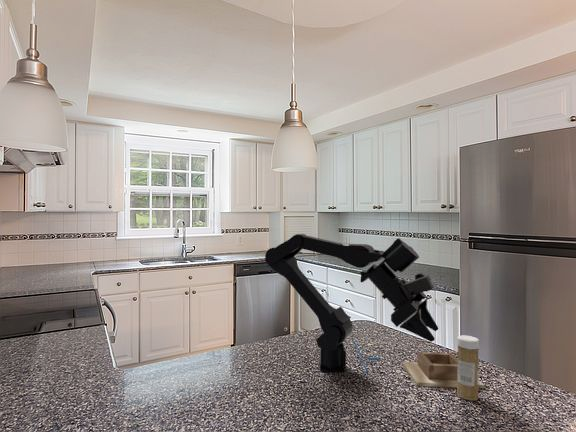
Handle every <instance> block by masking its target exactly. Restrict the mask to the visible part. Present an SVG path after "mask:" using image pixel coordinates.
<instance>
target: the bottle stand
mask: <svg viewBox="0 0 576 432" xmlns="http://www.w3.org/2000/svg"><path fill="white" fill-rule="evenodd" d="M402 366H403V367H404V369H405V371H406V372H407V373H408V375H409V377H410V378H411V379H412V381H413V382H414V383H415V385H416V386H417V387H435V388H436V387H437V388H438V387H439V388H440V387H441V388H458V380H457V367H458V357H456V356H455V355H454V354H453V353H451V352H427V351H426V352H423V351H418V352H417V362H415V361H402ZM478 389H485V384H484V383H483V382H482V381H481V380H479V384H478Z"/></svg>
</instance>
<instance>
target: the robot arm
mask: <svg viewBox="0 0 576 432" xmlns="http://www.w3.org/2000/svg"><path fill="white" fill-rule="evenodd" d="M373 247H374V246H372V245H370V244H368V243H366V244H364V243H342V242H337V241H333V240H328V239H324V238H319V237H315V236H309V235H306V234H304V233H297V234H294V235H292V236H291V237H290V238H289V239H287V240H286V241H283V242H282V243H280V244H279V245H277V246H275V247H271V248H269V249H267V251H266V253H265V254H264V257H265V258H264V261H265V262H264V263H266V265H267V266H268V267H269V268H270V269H272V270H273V272H275V273H277V274H279V275H280V276H282V277H284V278H285V279H286V280H287V281H288V282H289V284H290V285H291V287H292V288H293V289H294V290H295V291H296V293H297V294H298V295H299V297H301V298H302V300H303V301H304V302H305V304H306V305H307V306H308V307H309V308H310V310H312V312H313V313H314V314H315V316H317V319H318V323H319V326H320V328H321V331H322V332H323V333H322V334H320V335H319V337H317V338H316V339H315V340H316V344H317V347H318V348H319V360H318V364H319V371H320V372H337V373H341V372H342V373H343V372H344V373H345V372H346V371H345V368H346V367H347V351H346V349H345V346H344V343H345V342H346V339H347V338H348V337H349V336H350V335H351V334H352V333H353V329H354V328H353V322H352V320H351V318H352V317H351V316H349V315H348V314H347V313H346V311H345V310H344V308H343V307H342V306H339V307H337V308H335V307H333V306H331V304H329V302H328V301H327V300H326V299H325V297H324V296H323V295H322V294H321V293H320V292H319V290H317V288H316V287H315V285H313V284H312V282H311V281H310V280H309V279H308V277H307V276H306V275H305V274H304V273H303V272H302V270H301V269H300V268H299V266H298V262H297V259H296V257H295V256H296V255H298V254H299V253H300V252H302V250H305V251H309V252H314V253H317V254H322V255H326V256H330V257H334V258H337V259H339V260H341V261H343V262H344V263H346V264H349V265H351V266H353V267H355V268H358V269H359V268H360V269H362V268H365V267H368V266H370V265H371V266H370V267H369V268H368V269H367V270H362V271H360V281H359V282H360V283H364V282H366V281H367V280H369V281H370V282H371V283H372V284H373V285H374V287H376V289H377V290H378V291H379V292H380V293H381V294H382V295H381V298H382V299H383V300H385V299H386V300H387V301H388V302H389V303H390V305H391V306H392V307H393V312H392V313H391V314H390V321H391V323H393V324H394V326H395V327H396V328H398V327H399V328H400V329H404V330H406V331H408V332H410V333H412V334H415V335H416V336H419V337H421V338H423V339H424V340H426V341H428V342H430V343H432V342H433V341H435V340H436V339H435V337H434V335H433V334H432V331H434V332H437V331H438V330H439V326H438V324H437V323H436V322H435V320H434V318H433V316H432V314H431V313H430V310H429V309H428V298H427V295H426V294H425V293H424V292H429V291H431V290H433V289H434V288H435V287H434V284H433V282H432V279H431V277H430V276H429V275H428V274H426V275H425V274H424V273H423V272H420V273H416V274H415V276H414V279H412V280H410V281H408V282H407V281H406V280H405V279H404V278H403V279H402V278H401V279H400V278H399V277H398V276H397V275H396V274H395V273H397V272H400V273H404V272H405V271H406V270H407V269H408V268H409V267H410V266H411V265H413V264H414V263H415V262H416V261H418V259H419V258H420V255H419V254H418V253H417V251H416V250H414V248H413V247H412V246H410V245H409V244H407V243H406V242H405V241H403V240H402V239H401V238H396V239H395V240H394V242H392V244H391V245H390V246H389V247H388V248H387V249H385V250H384V251H383V250H379V249H374V248H373ZM379 261H381V262H380V263H379V264H378V265H377V264H374V263H376V262H379ZM430 329H431V330H432V331H430Z"/></svg>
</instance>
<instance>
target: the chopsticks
mask: <svg viewBox="0 0 576 432" xmlns="http://www.w3.org/2000/svg"><path fill="white" fill-rule="evenodd" d="M353 341H354V344H355V346H356V349H357V351H358V354H359V357H360V360H361V361H362V362H361V363H362V364H363V366H364V370H365V372H366V374H368V370H367V367H366V365H365V362H364V358H363V357H362V354H361V351H360V350H359V347H358V345H357V342H356V340H355V339H354V340H353ZM367 360H369V361H381V358H380V357H367Z"/></svg>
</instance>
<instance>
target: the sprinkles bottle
mask: <svg viewBox="0 0 576 432" xmlns="http://www.w3.org/2000/svg"><path fill="white" fill-rule="evenodd" d="M456 345H457V359H458V367H457V380H458V387H457V390H456V394H457V396H458V397H459V398H461V399H463V400H466V401H472V402H473V401H477V400H479V397H480V396H479V388H478V384H479V381H480V379H479V378H480V377H479V376H480V374H479V373H480V371H479V349H480V339H479V338H477V337H474V336H472V335H463V334H462V335H458V336H457V339H456Z"/></svg>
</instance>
